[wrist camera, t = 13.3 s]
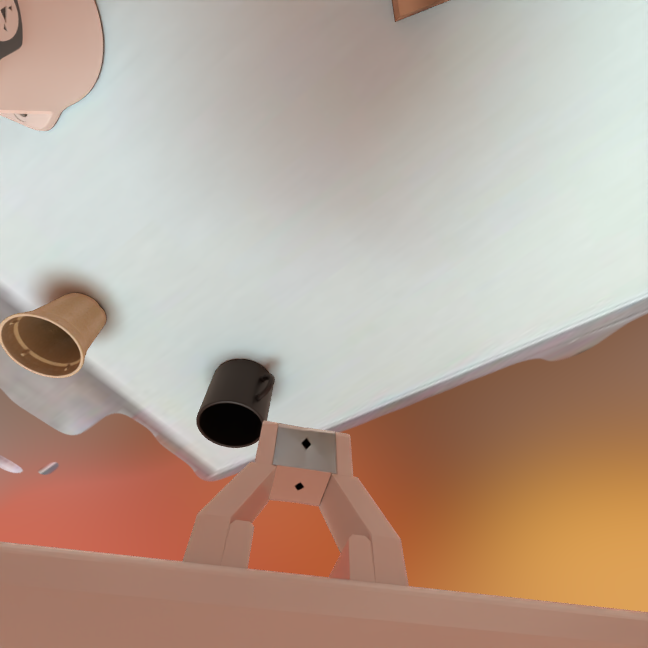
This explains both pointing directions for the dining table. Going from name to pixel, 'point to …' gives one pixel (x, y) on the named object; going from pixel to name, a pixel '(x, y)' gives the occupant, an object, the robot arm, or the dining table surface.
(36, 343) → the flower pot
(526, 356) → the dining table surface
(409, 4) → the wooden cutting board
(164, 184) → the dining table surface
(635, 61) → the dining table surface
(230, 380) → the mug
